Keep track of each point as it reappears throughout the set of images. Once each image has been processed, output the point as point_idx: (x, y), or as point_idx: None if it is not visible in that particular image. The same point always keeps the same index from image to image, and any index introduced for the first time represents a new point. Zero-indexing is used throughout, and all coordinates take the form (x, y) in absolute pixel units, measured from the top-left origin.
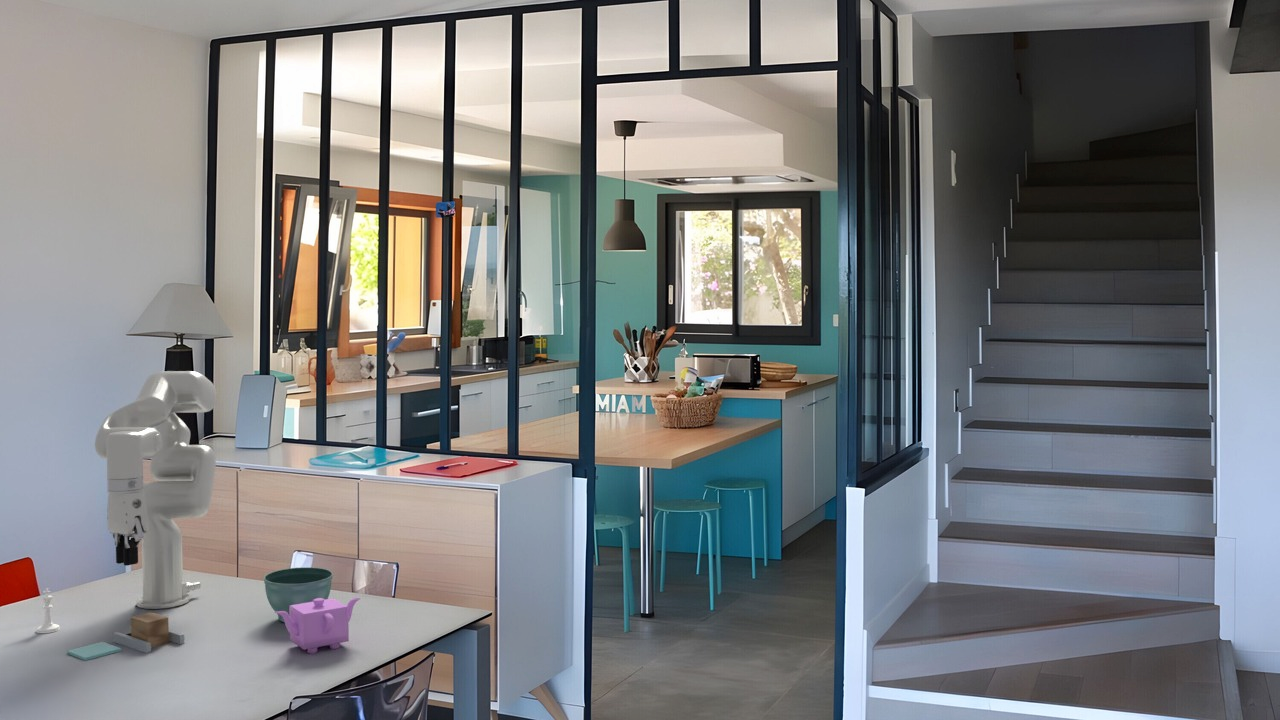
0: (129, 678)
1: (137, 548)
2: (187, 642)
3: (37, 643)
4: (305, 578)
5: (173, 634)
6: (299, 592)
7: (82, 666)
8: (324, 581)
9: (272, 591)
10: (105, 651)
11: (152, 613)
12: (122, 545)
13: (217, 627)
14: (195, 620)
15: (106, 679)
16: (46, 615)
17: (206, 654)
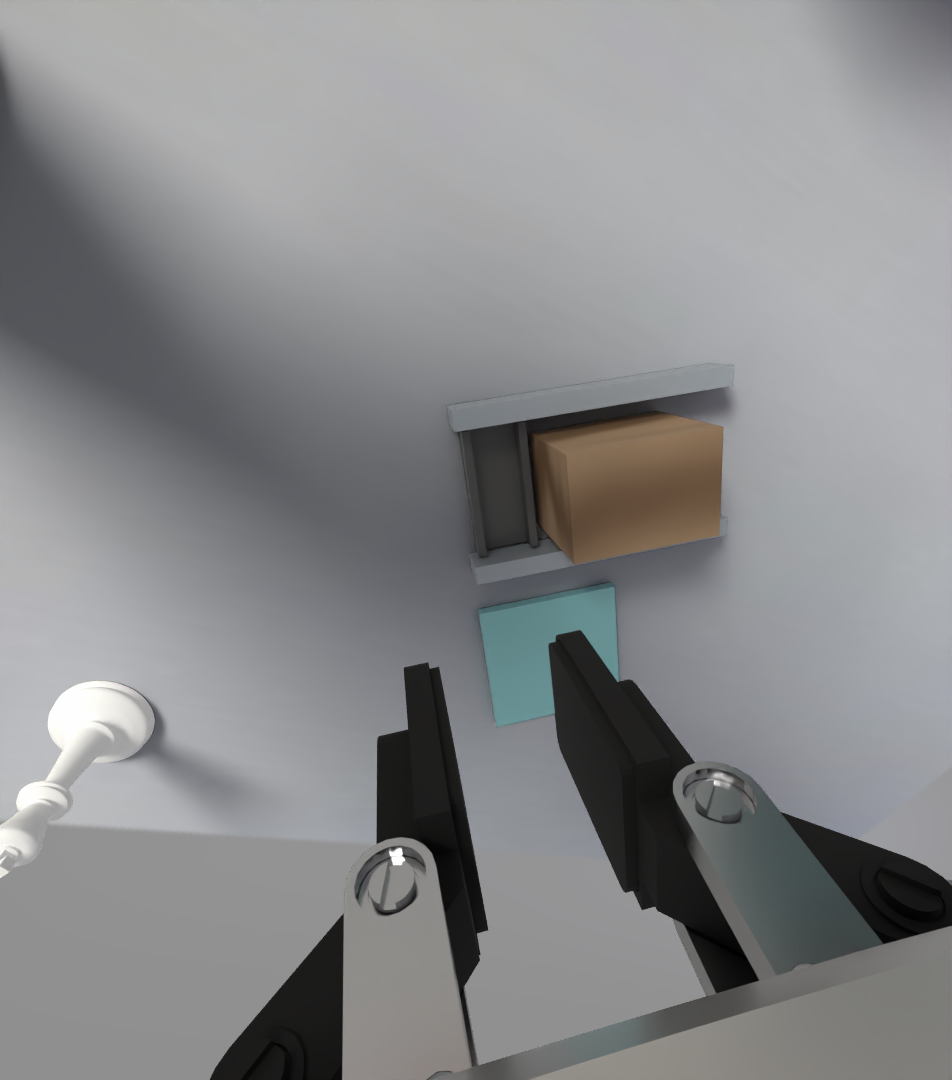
0: (871, 638)
1: (657, 739)
2: (713, 348)
3: (289, 771)
4: None
5: (680, 393)
6: None
7: (662, 709)
8: None
9: None
10: (606, 636)
11: (595, 460)
12: (469, 906)
13: (616, 104)
14: (398, 121)
15: (824, 685)
16: (79, 775)
17: (899, 363)
